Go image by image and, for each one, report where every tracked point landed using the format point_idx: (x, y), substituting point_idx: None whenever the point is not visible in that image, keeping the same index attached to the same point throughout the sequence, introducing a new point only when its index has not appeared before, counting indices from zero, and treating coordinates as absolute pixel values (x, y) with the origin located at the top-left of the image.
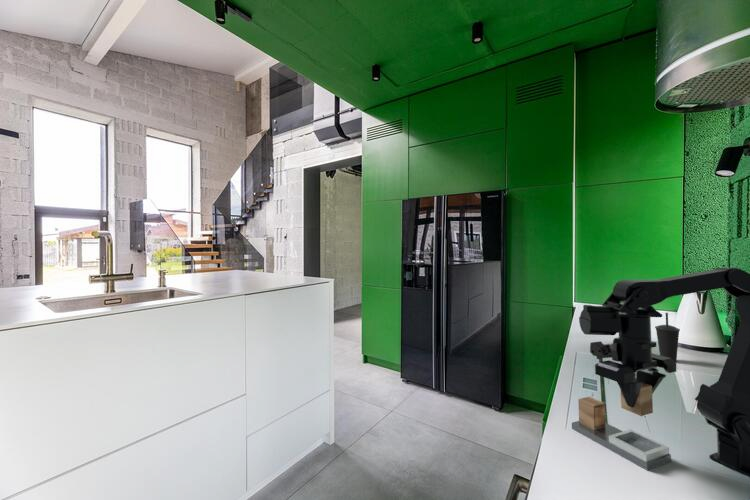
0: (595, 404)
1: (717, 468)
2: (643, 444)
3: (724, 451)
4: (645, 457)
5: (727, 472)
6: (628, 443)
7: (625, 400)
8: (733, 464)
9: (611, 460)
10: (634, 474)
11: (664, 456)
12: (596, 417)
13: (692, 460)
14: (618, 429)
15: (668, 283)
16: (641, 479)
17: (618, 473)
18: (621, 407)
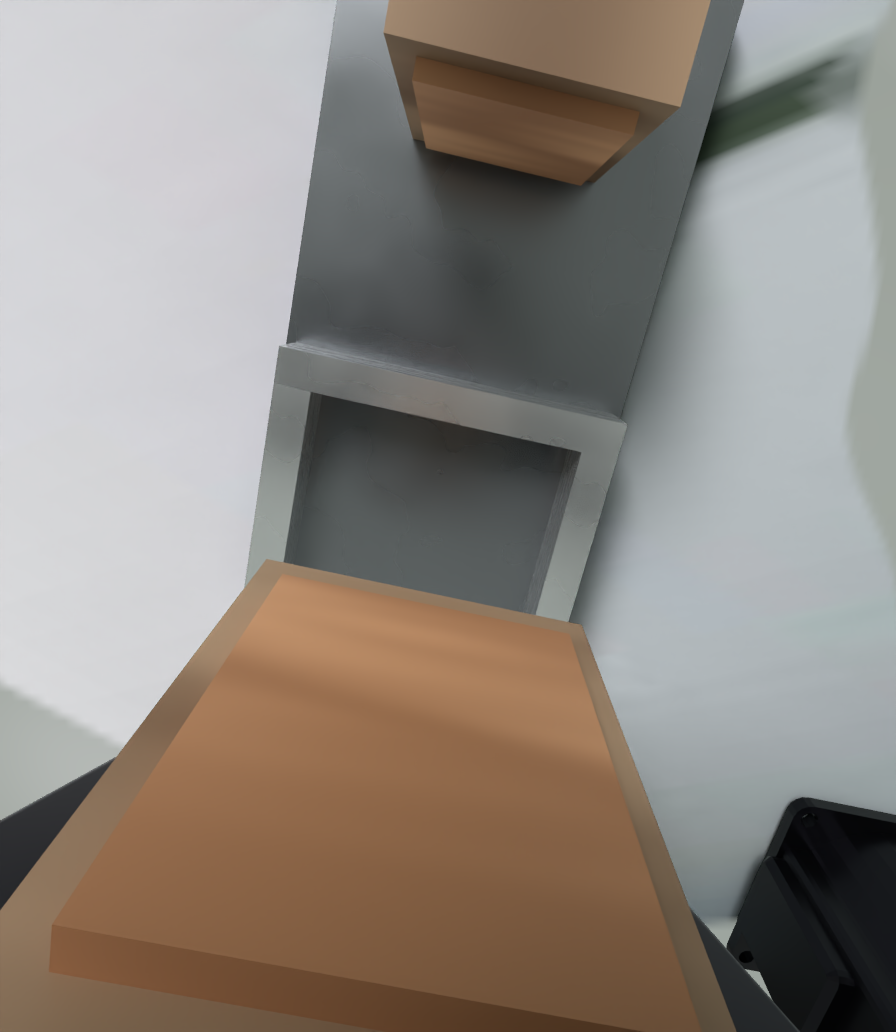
0: (481, 22)
1: (688, 838)
2: (526, 536)
3: (790, 954)
4: None
5: (683, 874)
6: (433, 456)
7: (105, 765)
8: (748, 927)
9: (151, 421)
10: (130, 579)
11: None
12: (427, 120)
13: (674, 740)
14: (647, 295)
15: None
16: (116, 622)
17: (34, 514)
18: (268, 561)
